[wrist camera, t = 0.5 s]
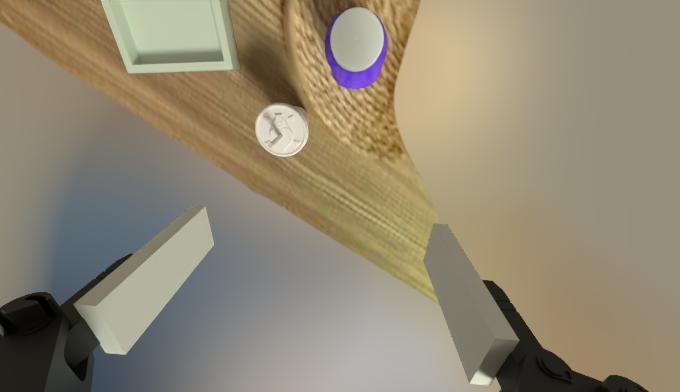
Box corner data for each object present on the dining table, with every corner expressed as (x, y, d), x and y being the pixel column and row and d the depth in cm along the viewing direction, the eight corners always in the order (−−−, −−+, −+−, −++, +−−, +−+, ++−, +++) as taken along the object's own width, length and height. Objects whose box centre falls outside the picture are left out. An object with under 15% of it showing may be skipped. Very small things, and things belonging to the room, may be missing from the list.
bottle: (331, 29, 32) (311, -15, 17) (374, 23, 32) (394, -28, 16) (337, 88, 35) (325, 98, 20) (376, 83, 35) (395, 90, 19)
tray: (92, -67, 29) (70, -78, 27) (213, -75, 28) (201, -88, 26) (142, 73, 36) (128, 73, 33) (240, 69, 35) (233, 69, 33)
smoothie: (279, 139, 39) (245, 169, 27) (273, 97, 36) (232, 108, 24) (318, 138, 39) (302, 168, 26) (316, 96, 36) (296, 107, 23)
